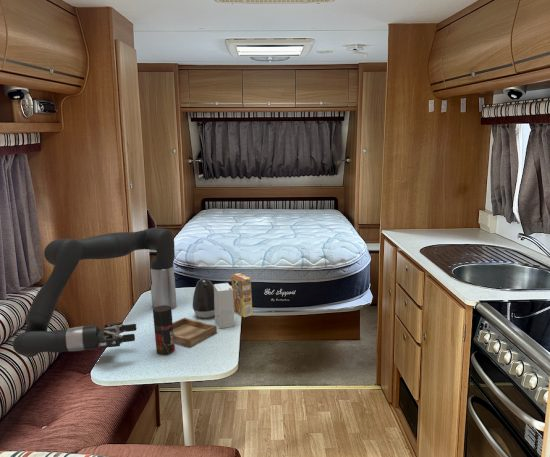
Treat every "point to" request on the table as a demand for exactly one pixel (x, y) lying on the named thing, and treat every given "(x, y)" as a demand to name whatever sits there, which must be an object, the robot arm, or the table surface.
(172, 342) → the deodorant
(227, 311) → the skincare box
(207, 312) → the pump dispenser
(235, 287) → the candy box
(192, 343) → the tray
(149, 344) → the table surface
